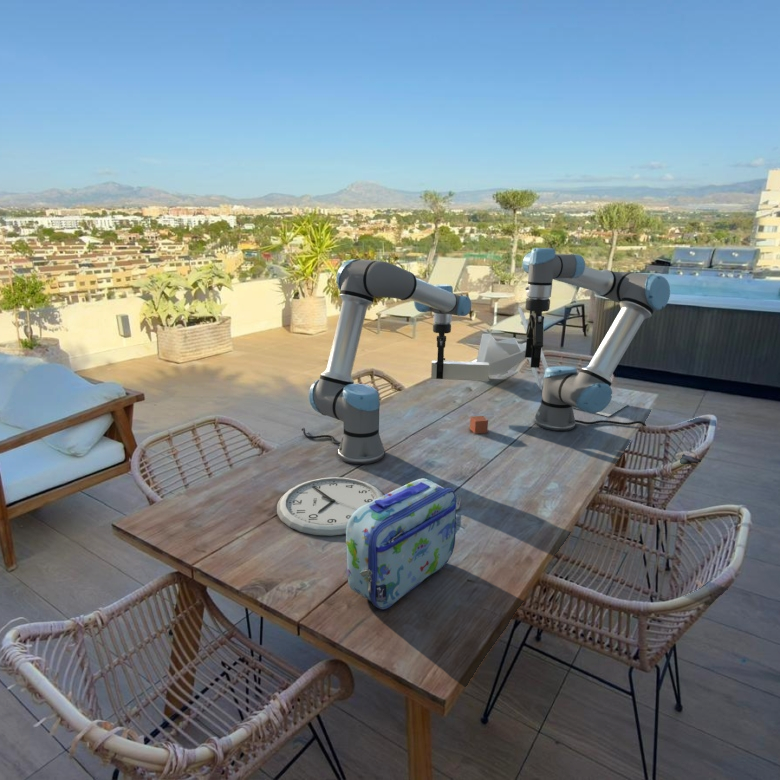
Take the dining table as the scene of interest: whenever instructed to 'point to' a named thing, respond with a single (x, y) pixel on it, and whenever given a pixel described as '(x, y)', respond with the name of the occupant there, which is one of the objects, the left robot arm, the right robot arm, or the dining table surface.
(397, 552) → the lunch box
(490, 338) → the white plastic object
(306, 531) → the wall clock
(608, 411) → the invitation card
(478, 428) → the terracotta block
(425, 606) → the dining table surface
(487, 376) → the plank
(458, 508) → the fork
